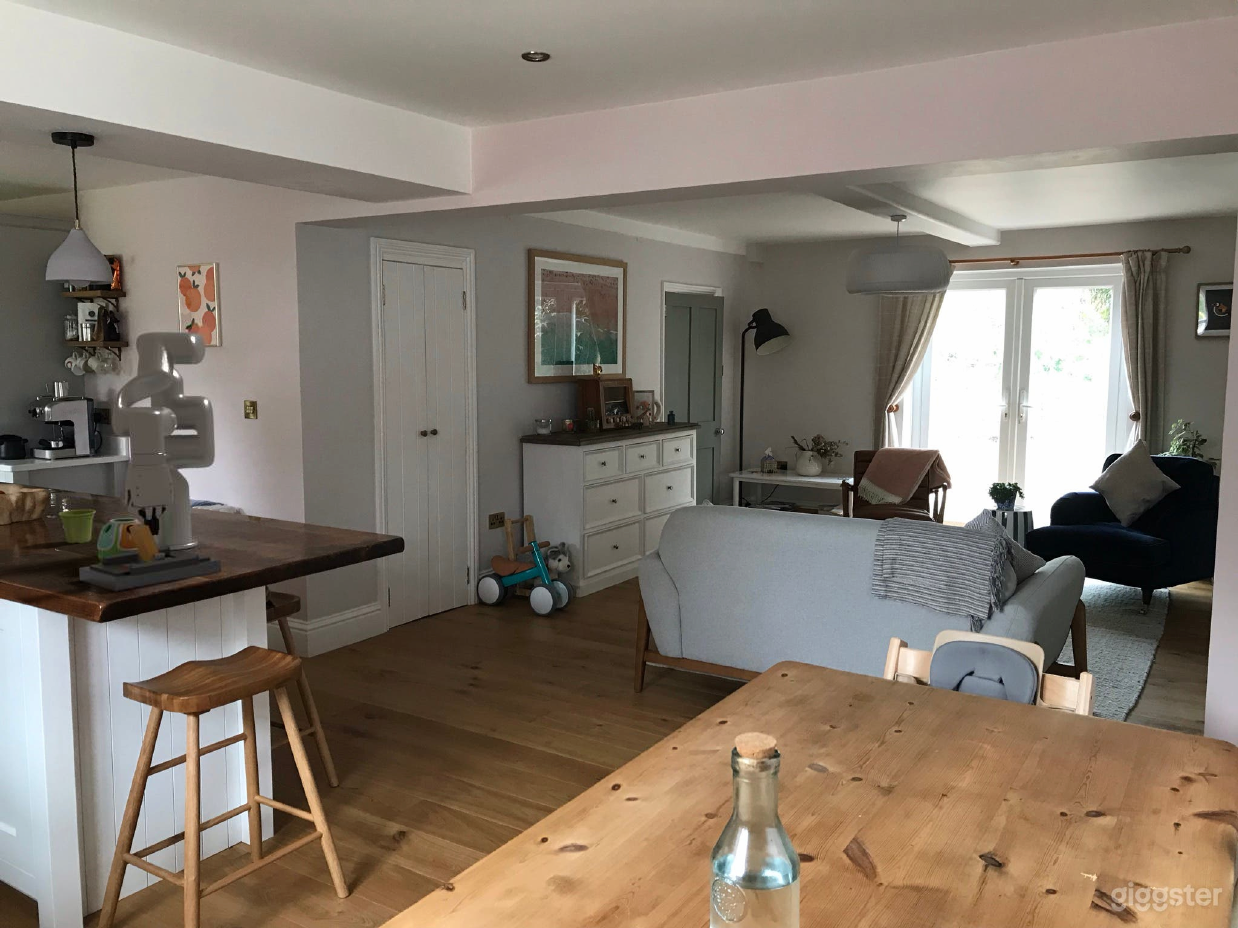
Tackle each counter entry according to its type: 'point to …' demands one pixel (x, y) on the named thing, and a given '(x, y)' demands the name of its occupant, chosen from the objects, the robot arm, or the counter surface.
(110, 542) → the turtle holder
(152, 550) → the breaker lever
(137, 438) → the robot arm
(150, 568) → the stepped grey platform
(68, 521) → the plant pot
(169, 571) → the grey base plate
